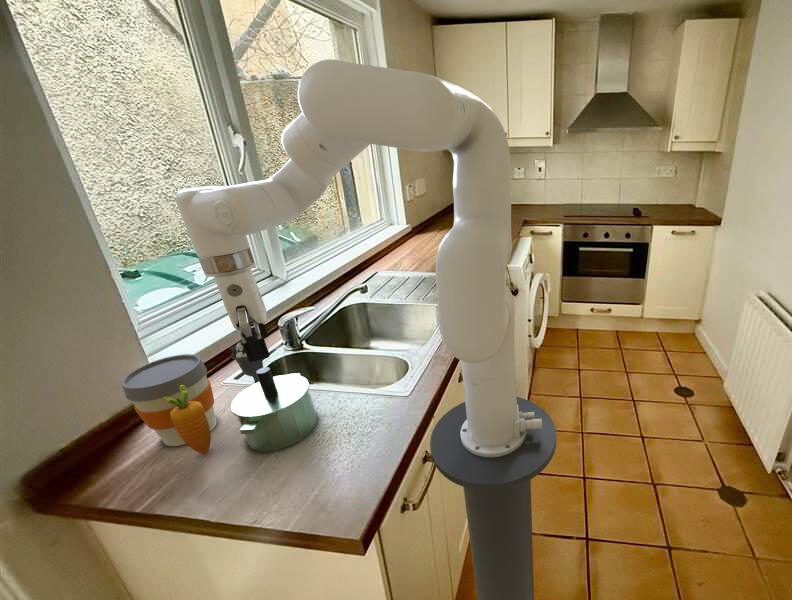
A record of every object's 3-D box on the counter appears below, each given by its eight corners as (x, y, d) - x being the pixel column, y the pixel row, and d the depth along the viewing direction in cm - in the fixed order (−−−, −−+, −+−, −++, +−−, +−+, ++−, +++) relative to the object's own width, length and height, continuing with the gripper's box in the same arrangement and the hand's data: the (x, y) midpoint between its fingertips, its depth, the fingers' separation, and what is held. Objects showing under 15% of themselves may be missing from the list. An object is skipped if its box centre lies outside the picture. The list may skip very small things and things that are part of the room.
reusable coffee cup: (220, 403, 90) (197, 347, 84) (232, 429, 82) (207, 368, 76) (149, 431, 82) (118, 371, 76) (154, 463, 74) (120, 398, 68)
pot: (331, 400, 90) (322, 369, 86) (292, 460, 73) (280, 424, 70) (276, 403, 89) (265, 372, 86) (225, 464, 73) (209, 428, 70)
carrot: (199, 466, 73) (168, 400, 67) (184, 458, 75) (152, 394, 69) (226, 448, 77) (199, 384, 71) (211, 441, 79) (184, 379, 73)
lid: (321, 377, 84) (313, 350, 82) (289, 419, 72) (279, 389, 69) (258, 380, 84) (248, 353, 82) (215, 422, 72) (203, 393, 69)
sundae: (281, 381, 98) (264, 327, 92) (258, 397, 92) (238, 341, 86) (261, 377, 100) (242, 325, 94) (237, 393, 94) (216, 338, 88)
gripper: (253, 268, 62) (284, 361, 69) (253, 247, 76) (279, 326, 82) (195, 279, 58) (234, 375, 65) (206, 255, 72) (238, 337, 79)
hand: (259, 348), depth 74 cm, fingers open, 9 cm apart
